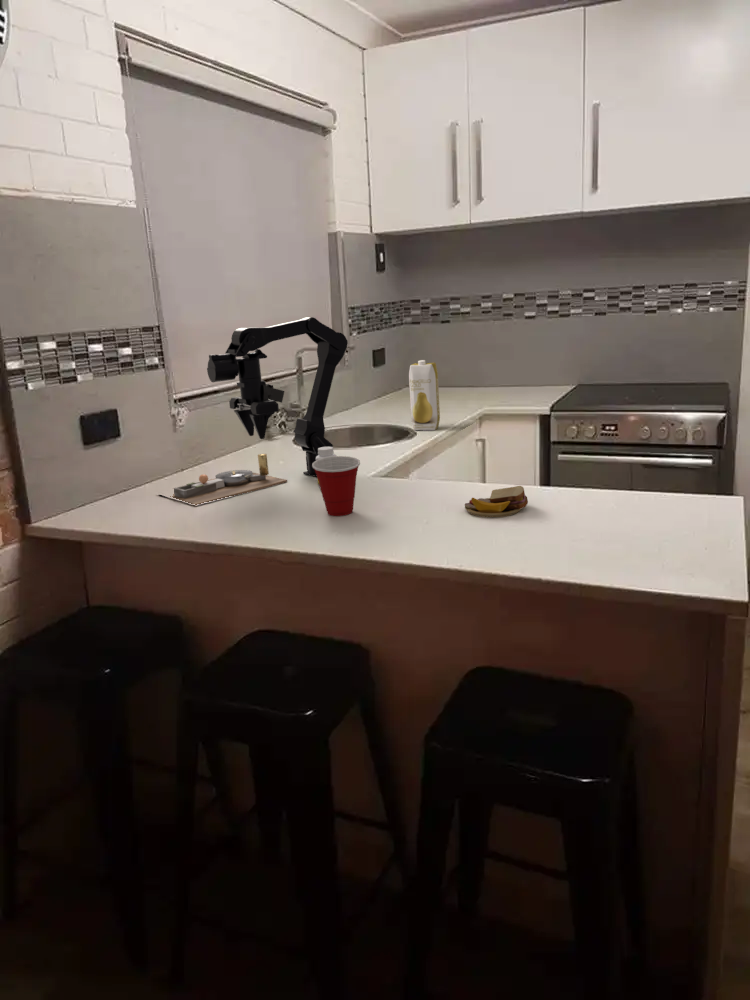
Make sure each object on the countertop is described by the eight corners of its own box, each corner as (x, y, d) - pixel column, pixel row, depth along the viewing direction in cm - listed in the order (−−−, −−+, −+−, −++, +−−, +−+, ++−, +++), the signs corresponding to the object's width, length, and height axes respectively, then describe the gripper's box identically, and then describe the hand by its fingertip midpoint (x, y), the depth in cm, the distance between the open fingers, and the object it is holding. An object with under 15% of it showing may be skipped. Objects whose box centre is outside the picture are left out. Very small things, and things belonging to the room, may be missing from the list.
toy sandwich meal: (473, 502, 173) (472, 482, 172) (532, 504, 168) (532, 483, 166) (458, 518, 162) (457, 496, 160) (521, 521, 157) (520, 499, 155)
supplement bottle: (316, 485, 197) (312, 447, 194) (336, 482, 198) (333, 444, 196) (321, 490, 192) (317, 451, 189) (342, 487, 193) (338, 448, 190)
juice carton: (410, 431, 263) (406, 361, 256) (416, 427, 270) (412, 359, 263) (436, 431, 260) (433, 360, 253) (441, 426, 267) (438, 358, 261)
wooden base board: (287, 482, 203) (286, 471, 202) (195, 506, 185) (194, 495, 184) (246, 472, 217) (244, 463, 217) (157, 494, 199) (155, 484, 199)
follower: (224, 486, 200) (222, 471, 199) (197, 493, 195) (195, 477, 194) (218, 484, 202) (216, 469, 201) (192, 491, 197) (189, 476, 196)
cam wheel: (271, 478, 205) (268, 454, 203) (233, 488, 197) (230, 463, 196) (246, 472, 214) (243, 449, 212) (209, 482, 206) (206, 458, 204)
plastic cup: (321, 522, 165) (316, 469, 161) (312, 510, 175) (307, 459, 171) (369, 515, 167) (365, 462, 164) (357, 503, 177) (353, 453, 174)
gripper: (294, 376, 190) (300, 436, 194) (263, 372, 206) (270, 428, 210) (253, 381, 185) (260, 443, 189) (225, 377, 200) (232, 435, 204)
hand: (256, 437), depth 198 cm, fingers open, 7 cm apart
